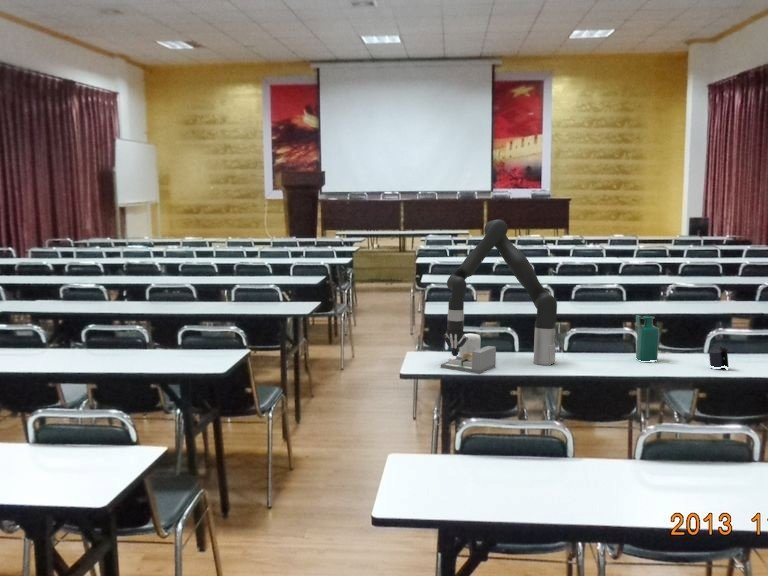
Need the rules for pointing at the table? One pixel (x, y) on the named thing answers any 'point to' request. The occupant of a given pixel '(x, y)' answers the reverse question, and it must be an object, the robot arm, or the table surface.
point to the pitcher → (647, 339)
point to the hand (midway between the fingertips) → (454, 355)
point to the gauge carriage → (466, 357)
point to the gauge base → (474, 361)
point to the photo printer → (470, 344)
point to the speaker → (718, 357)
